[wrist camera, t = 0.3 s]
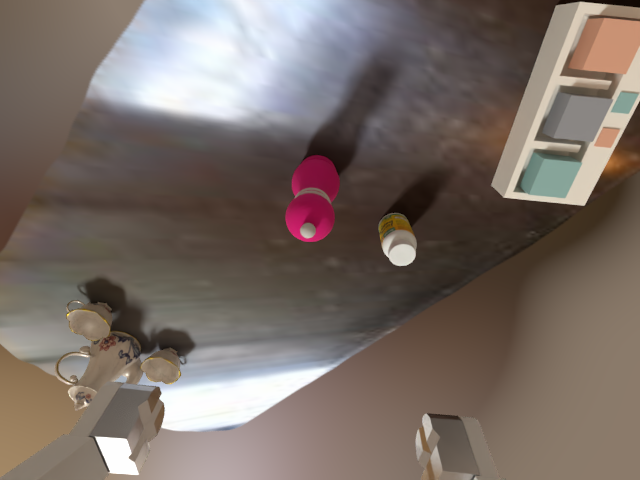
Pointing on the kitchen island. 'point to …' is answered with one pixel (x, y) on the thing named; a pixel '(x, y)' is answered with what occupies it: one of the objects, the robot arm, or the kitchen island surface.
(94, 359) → the chinaware
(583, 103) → the slate key
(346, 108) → the kitchen island surface
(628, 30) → the terracotta key
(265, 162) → the kitchen island surface
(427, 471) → the robot arm
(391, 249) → the supplement bottle
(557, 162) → the teal key
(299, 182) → the pepper mill
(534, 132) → the three-slot colour tray
